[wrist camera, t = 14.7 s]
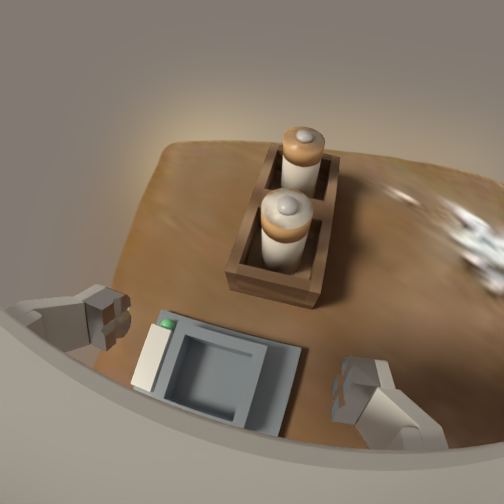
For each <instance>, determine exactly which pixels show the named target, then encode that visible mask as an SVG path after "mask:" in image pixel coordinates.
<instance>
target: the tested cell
mask: <svg viewBox="0 0 504 504" xmlns="http://www.w3.org/2000/svg"><path fill="white" fill-rule="evenodd" d="M312 216H313V205H312V202H311V200H310V199H309V198H308V197H307V196H306V195H305V194H304V193H302V192H300V191H298V190H295V189H291V188H280V189H276V190H273V191H271V192H270V193H268V194H267V195H266V196H265V197H264V199H263V201H262V203H261V226H262V263H263V266H264V267H265V269H266V270H268V271H273V272H277V273H281V274H285V275H290V274H292V273H294V272H295V271H296V270H297V269H298V267H299V265H300V262H301V258H302V254H303V250H304V246H305V242H306V238H307V234H308V231H309V228H310V224H311V220H312Z"/></svg>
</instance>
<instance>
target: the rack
mask: <svg viewBox="0 0 504 504" xmlns="http://www.w3.org/2000/svg"><path fill="white" fill-rule="evenodd" d="M282 162H283V145H277V144H271V145H270V148H269V150H268V153H267V156H266V158H265V161H264V164H263V166H262V169H261V172H260V174H259V177H258V180H257V183H256V185H255V188H254V191H253V193H252V196H251V199H250V202H249V204H248V207H247V210H246V213H245V216H244V218H243V221H242V224H241V227H240V229H239V232H238V235H237V238H236V241H235V244H234V246H233V249H232V252H231V255H230V258H229V261H228V263H227V266H226V269H225V273H226V277H227V281H228V284H229V288H230V290H233V291H237V292H241V293H245V294H249V295H253V296H257V297H261V298H265V299H269V300H273V301H277V302H282V303H286V304H290V305H295V306H299V307H303V308H308V309H313V307H314V305H315V303H316V301H317V299H318V297H319V295H320V293H321V288H322V283H323V277H324V272H325V266H326V260H327V254H328V248H329V241H330V235H331V228H332V221H333V214H334V206H335V198H336V190H337V181H338V172H339V162H340V157H337V156H333V155H328V154H324V153H323V155H322V159H321V163H320V168H319V173H318V178H317V183H316V187H315V192H314V197H313V199H312V198H309V199H310V200H311V202H312V205H313V216H312V220H311V224H310V228H309V231H308V234H307V238H306V242H305V246H304V250H303V254H302V258H301V262H300V265H299V267H298V269H297V270H296V271H295V272H294V273H292V274H290V275H285V274H281V273H277V272H273V271H268V270H266V269H265V267H264V266H263V263H262V226H261V203H262V201H263V199H264V197H265V196H266V195H267V194H268V193H270V192H271V191H273V190H276V189H280V188H281V177H282Z"/></svg>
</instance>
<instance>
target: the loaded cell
mask: <svg viewBox="0 0 504 504" xmlns="http://www.w3.org/2000/svg"><path fill="white" fill-rule="evenodd" d="M324 145H325V139H324V137H323V135H322V134H321V133H319V132H318V131H316V130H314V129H311V128H308V127H294V128H291V129H289V130H287V131H286V132H285V134H284V138H283V162H282V177H281V188H291V189H295V190H298V191H300V192H302V193H304V194H305V195H306V196H307V197H308V198H312V199H313V197H314V192H315V187H316V183H317V178H318V173H319V168H320V163H321V159H322V155H323V150H324Z"/></svg>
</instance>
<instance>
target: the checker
mask: <svg viewBox="0 0 504 504" xmlns="http://www.w3.org/2000/svg"><path fill="white" fill-rule="evenodd" d="M300 352H301V348H300V347H296V346H291V345H287V344H282V343H278V342H274V341H270V340H266V339H262V338H258V337H254V336H250V335H246V334H243V333H239V332H235V331H232V330H228V329H224V328H221V327H217V326H214V325H210V324H207V323H204V322H200V321H197V320H194V319H191V318H187V317H184V316H181V315H178V314H175V313H172V312H169V311H165V310H162V309H161V312H160V314H159V317H158V320H157V322H156V325H154V324H152V325H151V327H150V330H149V333H148V336H147V338H146V341H145V344H144V347H143V349H142V352H141V355H140V358H139V361H138V363H137V366H136V369H135V372H134V375H133V378H132V381H131V384H133V385H134V388H133V389H135V390H137V391H139V392H141V393H144V394H146V395H148V396H151V397H153V398H155V399H158V400H160V401H163V402H165V403H168V404H170V405H173V406H175V407H178V408H181V409H183V410H186V411H189V412H192V413H195V414H198V415H201V416H204V417H207V418H210V419H213V420H216V421H219V422H222V423H226V424H229V425H233V426H236V427H240V428H243V429H247V430H251V431H255V432H259V433H263V434H268V435H272V436H277V437H278V433H279V430H280V427H281V423H282V420H283V416H284V413H285V409H286V406H287V402H288V399H289V395H290V391H291V388H292V384H293V380H294V376H295V372H296V368H297V364H298V360H299V356H300Z"/></svg>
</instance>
